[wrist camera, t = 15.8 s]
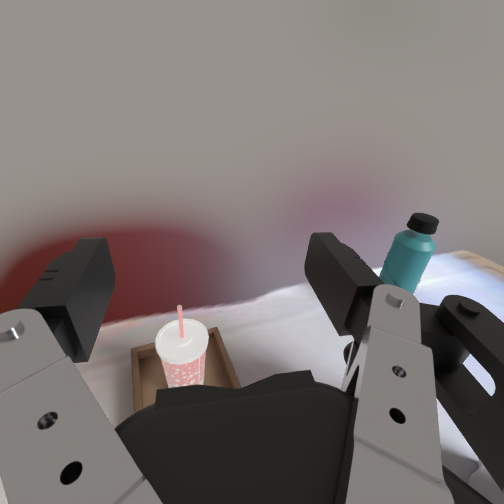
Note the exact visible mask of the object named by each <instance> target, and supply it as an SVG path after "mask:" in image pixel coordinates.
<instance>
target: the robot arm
mask: <svg viewBox="0 0 504 504" xmlns="http://www.w3.org/2000/svg"><path fill="white" fill-rule="evenodd" d="M305 275H306V277H307V279H308V281H309V283H310V285H311V286H312V288H313V290H314V292H315V294H316V295H317V297H318V299H319V301H320V302H321V304H322V306H323V308H324V310H325V311H326V313H327V315H328V317H329V318H330V320H331V322H332V324H333V326H334V327H335V329H336V331H337V333H338V334H339V336H345V335H352V336H353V338H354V340H353V342H352V345H351V349H350V354H349V358H348V362H347V366H346V371H345V375H344V379H343V383H342V387H341V390H340V389H338V388H336V387H333V386H330V385H328V384H324V383H320V382H315V381H314V378H313V376H312V373H311V371H310V370H305V371H297V372H289V373H281V374H275V375H272V376H270V377H268V378H265V379H263V380H260V381H258V382H255V383H253V384H250V385H248V386H246V387H243V388H239V389H233V388H225V387H216V386H208V385H199V384H196V385H188V386H180V387H172V388H165V389H157V390H156V399H155V403H154V404H151V405H149V406H147V407H145V408H143V409H141V410H139V411H137V412H136V413H134V414H133V415H131V416H130V417H128V418H127V419H126V420H125V421H123V422H122V423H121V424H119V425H118V426H117V427H116V428H115V429H114V428H113V426H112V425H111V423H110V422H109V420H108V418H107V417H106V415H105V413H104V412H103V410H102V409H101V407H100V405H99V404H98V402H97V400H96V399H95V397H94V396H93V394H92V392H91V391H90V389H89V388H88V386H87V384H86V383H85V381H84V379H83V378H82V376H81V375H80V373H79V371H78V370H77V368H76V366H75V365H74V363H79V362H88V360H89V357H90V355H91V352H92V349H93V346H94V343H95V341H96V338H97V335H98V332H99V329H100V327H101V324H102V321H103V318H104V315H105V313H106V310H107V307H108V304H109V301H110V298H111V296H112V293H113V290H114V287H115V271H114V267H113V263H112V259H111V255H110V251H109V246H108V243H107V240H106V239H105V238H103V237H102V238H81V239H80V240H79V241H78V243H77V244H76V245H75V247H74V248H73V250H72V251H71V252H64V253H63V254H61V255H60V256H58V257H57V258H56V259H54V260H53V261H52V262H51V263H50V264H49V266H48V267H47V268H46V270H45V273H43V274H42V275H41V277H40V278H39V281H37V282H36V283H35V285H34V286H33V287H32V289H31V290H30V291H29V293H28V294H27V295H26V297H25V298H24V299H23V301H22V302H21V303H20V305H19V306H18V308H17V309H16V310H13V311H9V312H6V313H3V314H0V476H1V479H2V483H3V486H4V490H5V493H6V497H7V500H8V504H504V323H503V322H502V321H501V320H500V319H498V318H497V317H496V316H495V315H494V314H493V313H491V312H490V311H489V310H488V309H487V308H485V307H484V306H483V305H481V304H480V303H478V302H476V301H474V300H472V299H469V298H467V297H464V296H459V295H448V296H446V297H444V299H443V301H442V302H441V304H440V306H436V305H430V304H424V303H419V302H418V300H417V299H416V298H415V296H414V295H412V294H411V293H410V292H408V291H407V290H405V289H403V288H400V287H398V286H394V285H389V284H384V283H383V281H382V280H381V279H380V278H379V277H378V276H377V275H376V274H375V273H374V272H373V271H372V269H371V268H370V267H369V266H368V265H366V263H365V262H364V261H363V260H362V259H360V256H359V255H358V254H357V253H356V252H355V251H354V250H353V249H351V248H350V247H348V246H346V245H345V244H343V243H341V242H340V241H339V240H338V239H337V238H336V237H335V236H334V235H333V233H331V232H322V233H313V234H312V235H311V238H310V242H309V246H308V251H307V256H306V260H305ZM470 353H471V355H472V356H473V357H474V358H475V359H476V360H477V361H478V362H479V363H480V364H481V365H482V366H483V367H484V369H485V370H486V371H487V372H488V373H489V374H490V375H491V377H492V378H493V380H494V382H495V387H496V389H495V393H494V394H493V395H492V396H490V395H489V394H488V393H487V391H486V390H485V389H484V388H483V387H482V386H481V384H480V383H479V382H478V381H477V380H476V379H475V378H474V376H473V375H472V374H471V373H470V372H469V371H468V369H467V368H466V367H465V366H464V365H463V364H462V363H463V362H464V361H465V359H466V358H467V357H468V356H469V354H470ZM436 397H437V399H438V400H439V402H440V403H441V405H442V406H443V408H444V409H445V410H446V412H447V413H448V415H449V416H450V418H451V419H452V420H453V422H454V423H455V425H456V426H457V428H458V429H459V431H460V432H461V433H462V435H463V436H464V438H465V439H466V441H467V442H468V443H469V445H470V446H471V448H472V449H473V451H474V452H475V454H476V455H477V456H478V458H479V460H478V469H477V470H476V471H475V472H474V473H473V474H471V476H470V477H469V479H468V481H467V483H465V482H464V481H463V480H462V479H460V478H459V477H458V476H456V475H455V474H454V473H452V472H451V471H450V470H448V469H447V468H446V467H445V466H443V465H442V460H441V448H440V437H439V425H438V413H437V401H436Z"/></svg>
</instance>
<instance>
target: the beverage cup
mask: <svg viewBox="0 0 504 504" xmlns="http://www.w3.org/2000/svg"><path fill="white" fill-rule="evenodd" d="M177 309H178V319H179V320H174V321H172V322H170V323H168V324H166V325H165V326H164V327H163V328H162V329H161V330H160V331H159V332H158V334H157V336H156V339H155V344H156V350H157V353H158V355H159V356H160V358H161V361H162V365H163V368H164V372H165V376H166V379H167V383H168V387H169V388H172V387H180V386H188V385H196V384H199V385H203V382H204V369H205V355H206V349H207V345H208V339H209V336H208V332H207V329H206V328H205V326H204V325H203V324H202V323H200V322H198V321H196V320H194V319H183V315H182V306H181V305H178V306H177Z"/></svg>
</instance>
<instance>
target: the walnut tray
mask: <svg viewBox="0 0 504 504" xmlns="http://www.w3.org/2000/svg"><path fill="white" fill-rule="evenodd" d="M207 332H208V336H209V339H208V345H207V349H206V355H205V369H204V382H203V385H208V386H216V387H225V388H233V389H239V388H241V387H240V384H239V381H238V379H237V376H236V374H235V371H234V369H233V366H232V364H231V361H230V358H229V356H228V353H227V351H226V348H225V346H224V343H223V341H222V338H221V336H220V333H219V330H218V328H217V327H215V328H211V329H207ZM131 358H132V375H133V393H134V411H135V413H136V412H137V411H139V410H141V409H143V408H145V407H147V406H149V405H151V404H154V403H155V399H156V390H157V389H165V388H169V387H168V383H167V379H166V376H165V372H164V368H163V365H162V361H161V358H160V356H159V355H158V353H157V350H156V344H155V343H152V344H148V345H144V346H140V347H136V348H132V349H131Z"/></svg>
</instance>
